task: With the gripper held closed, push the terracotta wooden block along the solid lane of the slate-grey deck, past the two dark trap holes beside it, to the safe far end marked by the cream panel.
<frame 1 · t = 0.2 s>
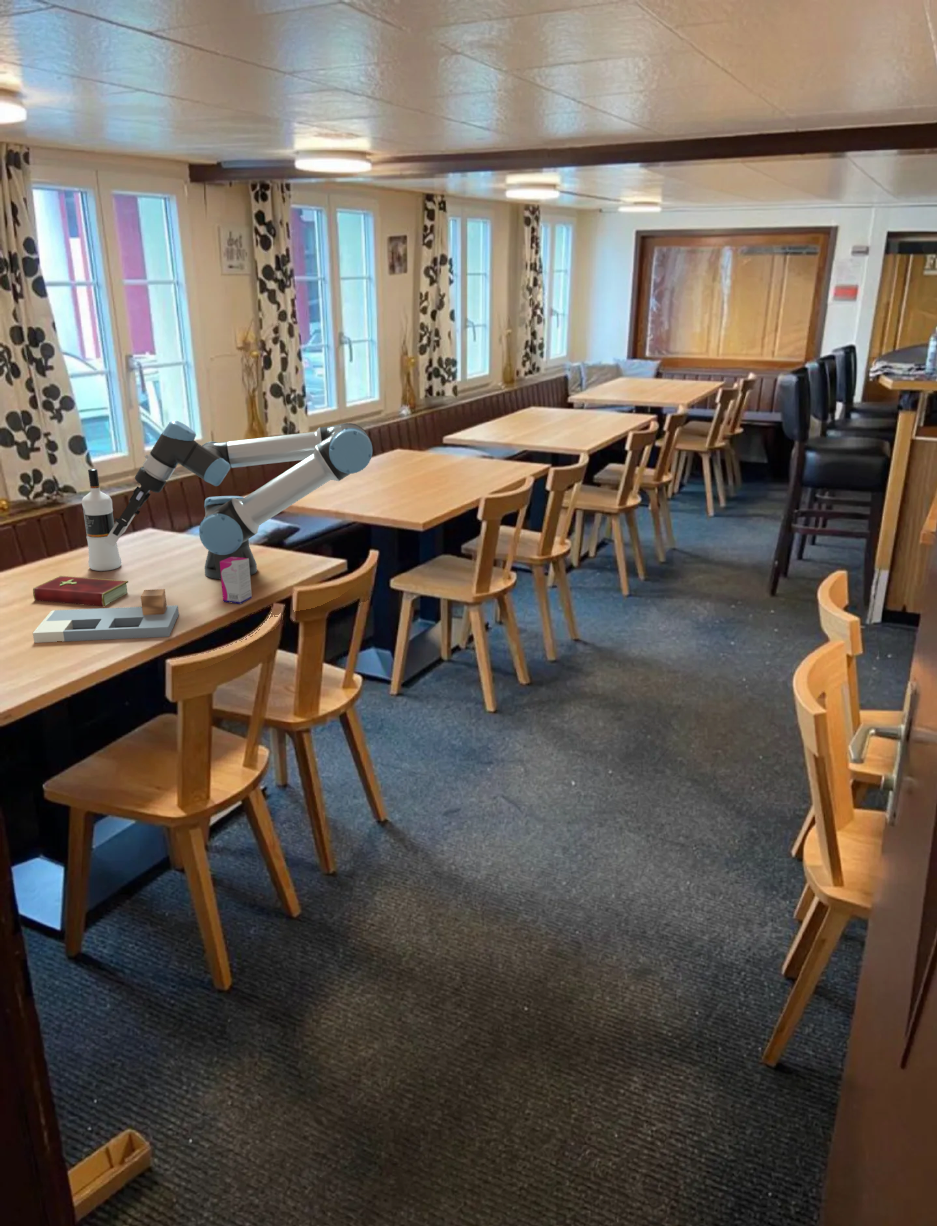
hand: (114, 537, 240), 15 cm above the table, tool tilted 35°, fingers open, 13 cm apart
hardcover book: (83, 599, 240), on the table
block: (155, 611, 222), point 2 cm above the table, touching deck
deck: (111, 627, 217), on the table
vodka: (105, 568, 265), on the table
supplement box: (237, 600, 238), on the table
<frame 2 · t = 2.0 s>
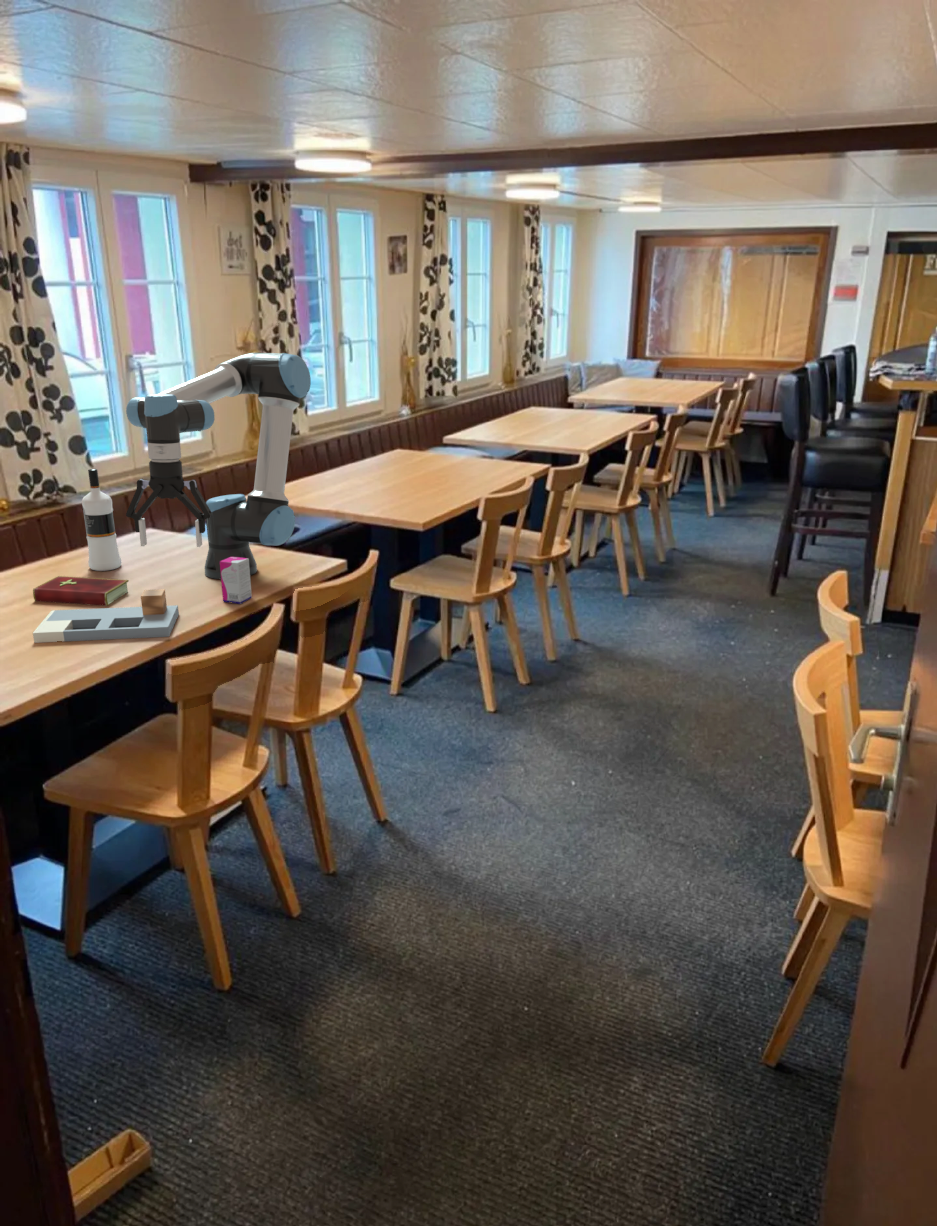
hand: (171, 545, 218), 19 cm above the table, tool pointing down, fingers open, 13 cm apart
nothing on the table moved.
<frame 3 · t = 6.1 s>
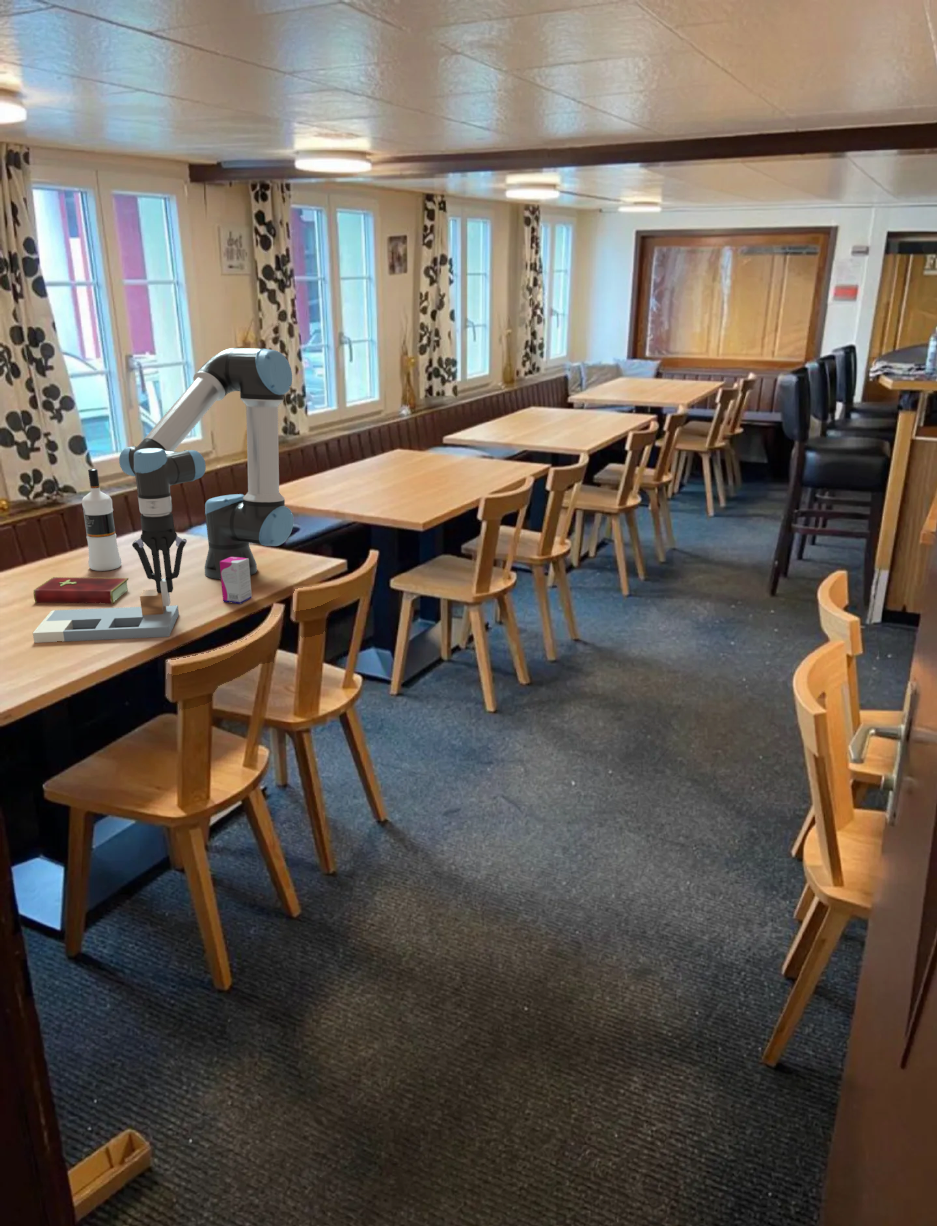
hand: (166, 604, 221), 4 cm above the table, tool pointing down, fingers closed
block: (154, 611, 222), point 3 cm above the table, touching gripper
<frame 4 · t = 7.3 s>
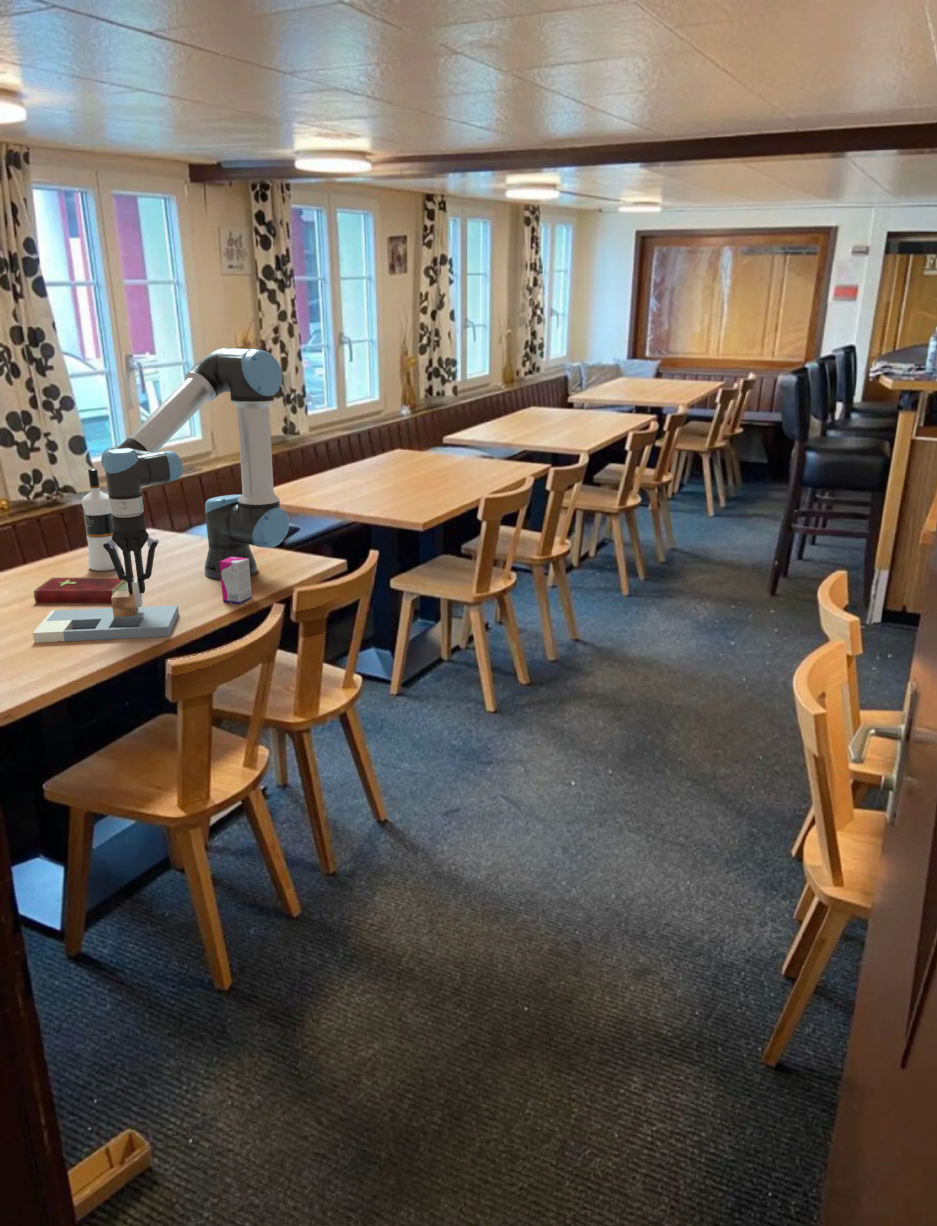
hand: (138, 605, 220), 4 cm above the table, tool pointing down, fingers closed
block: (126, 612, 220), point 3 cm above the table, touching gripper
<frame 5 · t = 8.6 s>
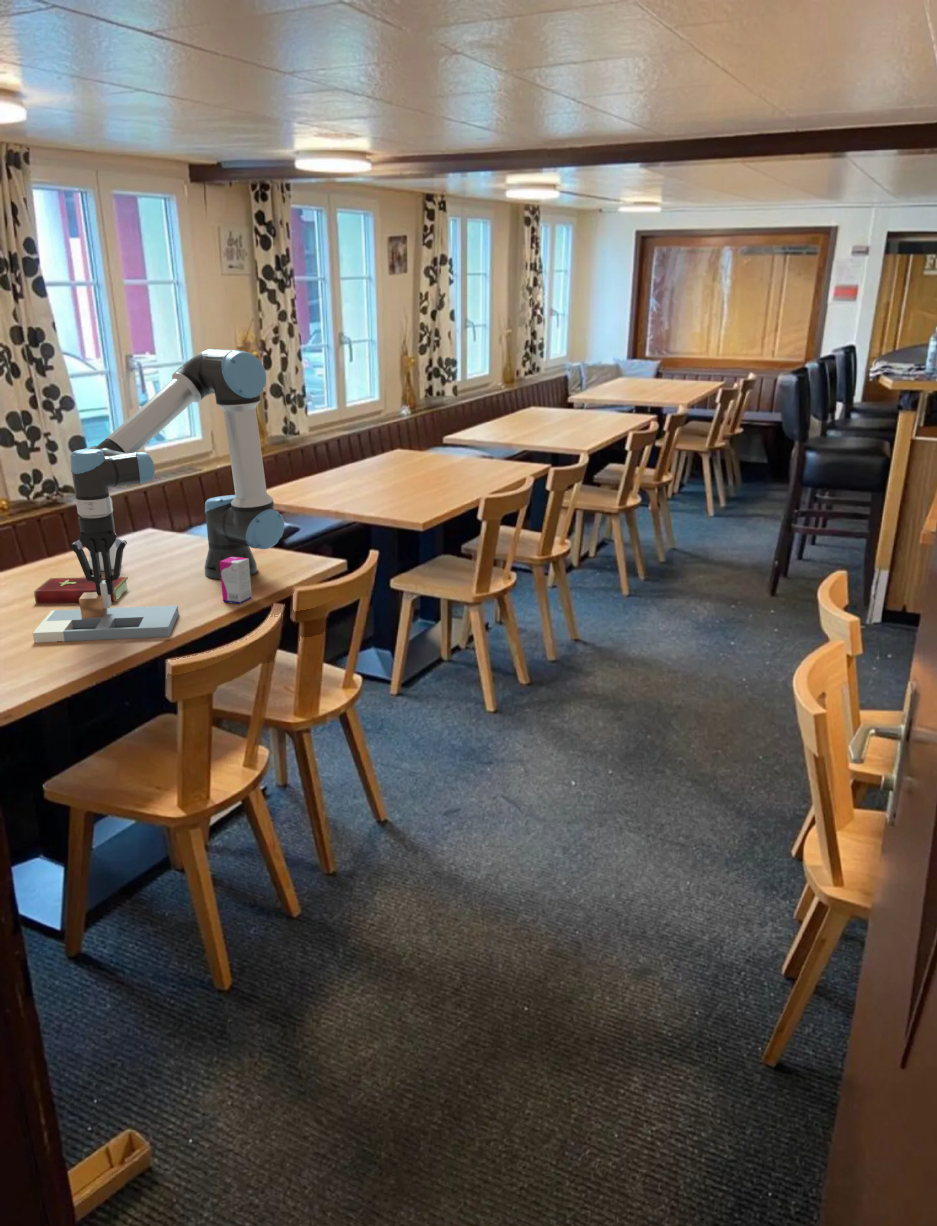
hand: (107, 606, 219), 4 cm above the table, tool pointing down, fingers closed
block: (94, 614, 219), point 3 cm above the table, touching gripper
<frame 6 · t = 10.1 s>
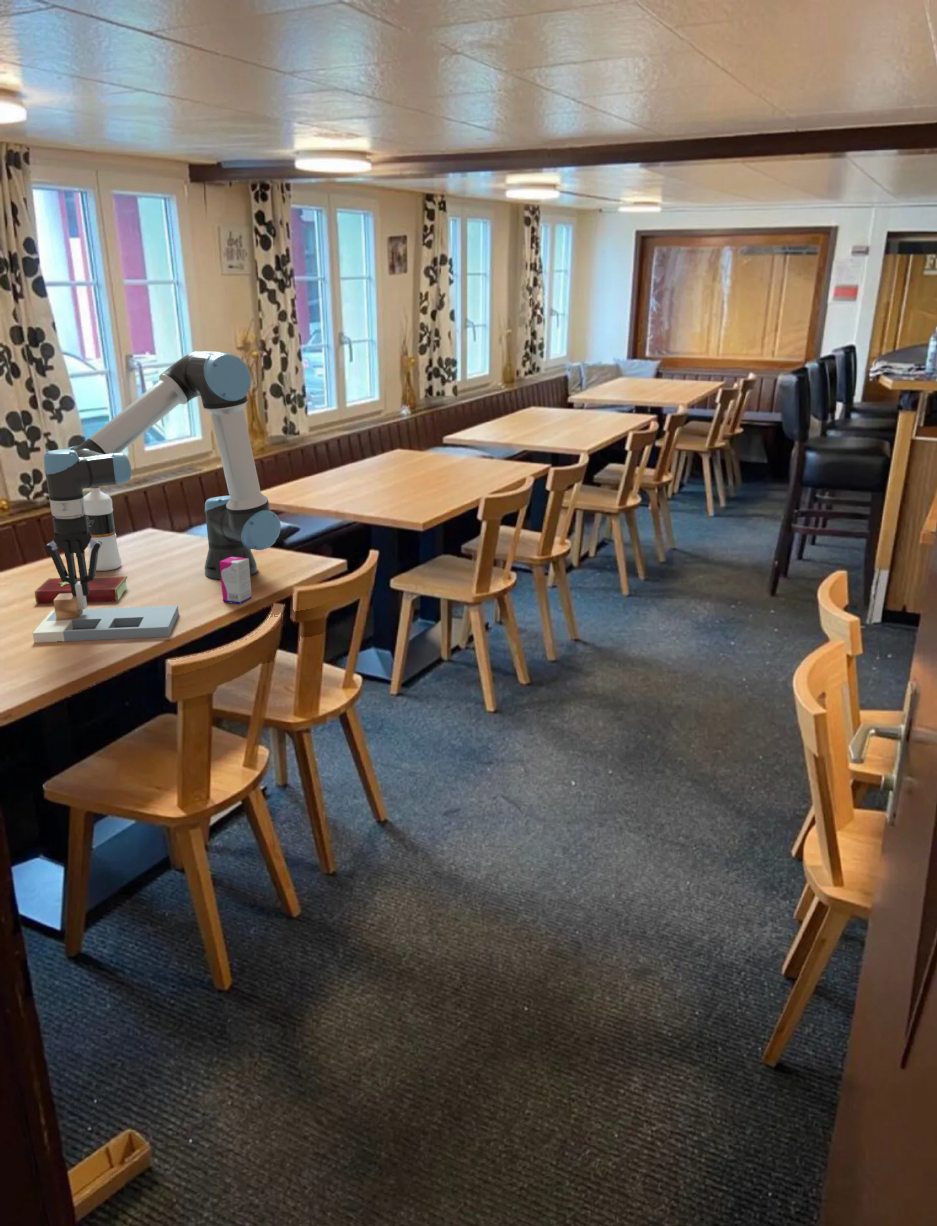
hand: (82, 607, 218), 4 cm above the table, tool pointing down, fingers closed
block: (69, 615, 218), point 3 cm above the table, touching gripper
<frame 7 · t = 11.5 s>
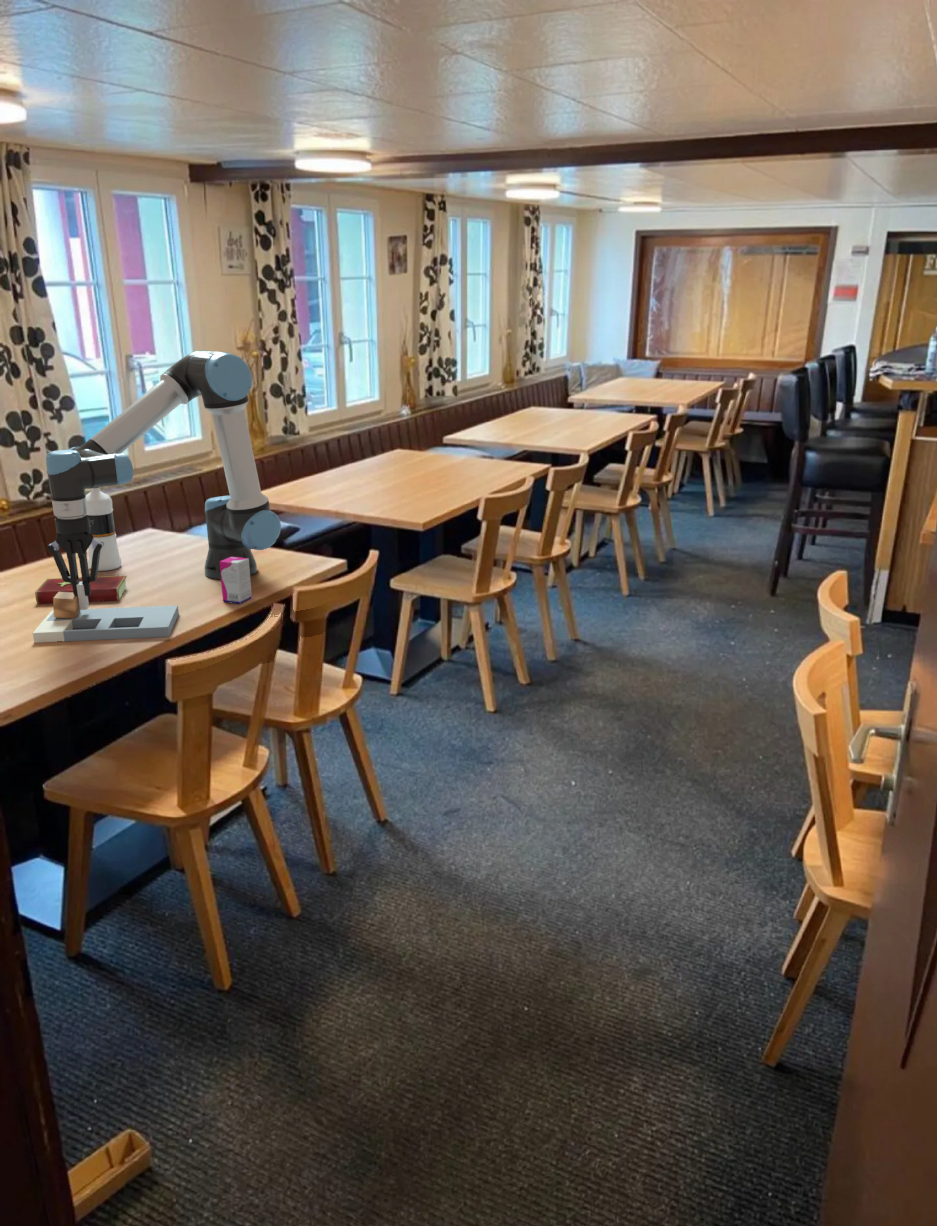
hand: (84, 607, 218), 4 cm above the table, tool pointing down, fingers closed
block: (67, 614, 218), point 3 cm above the table, tilted 7°, touching deck, gripper
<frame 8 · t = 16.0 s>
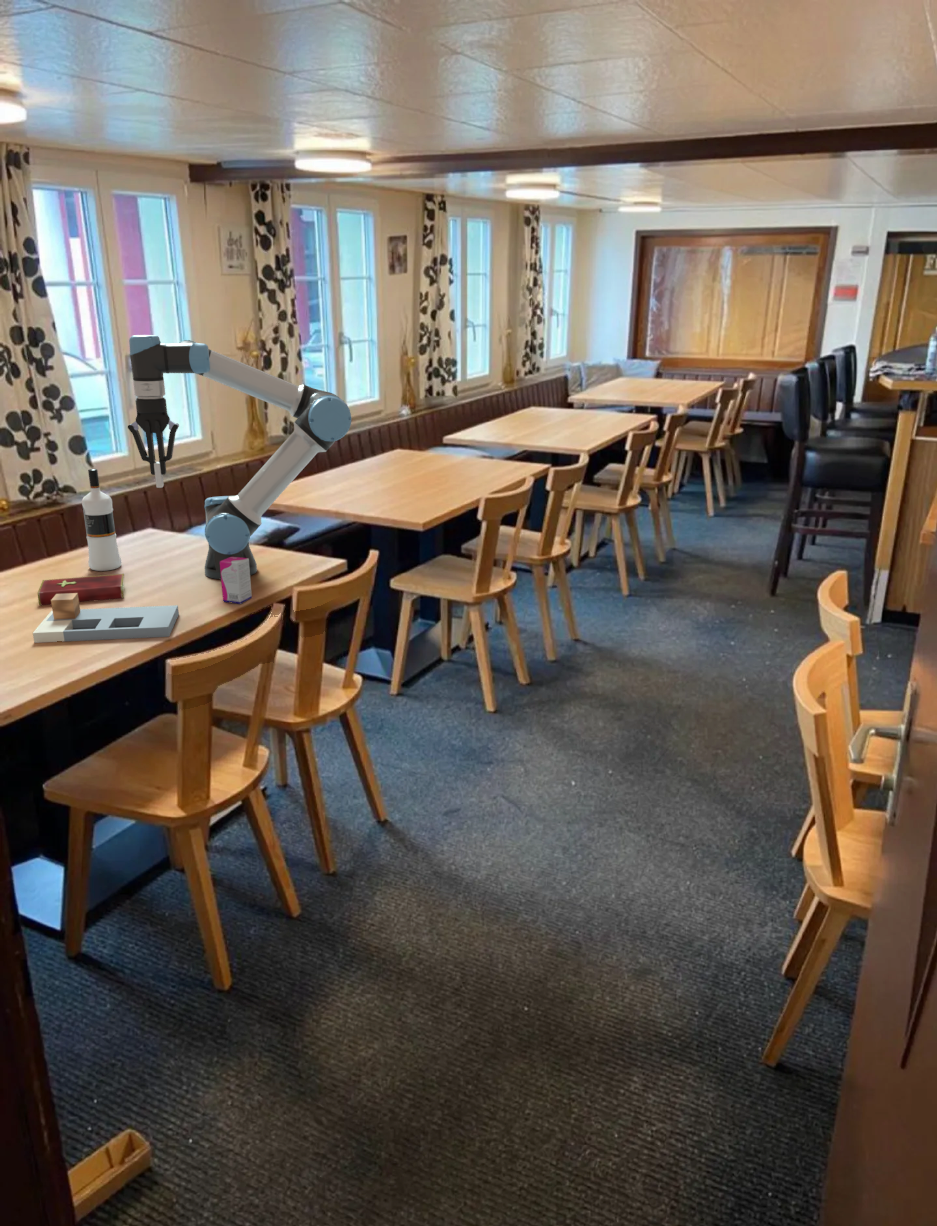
hand: (160, 486, 236), 29 cm above the table, tool pointing down, fingers closed
block: (67, 615, 218), point 2 cm above the table, touching deck
at the end: block inside the target area (1.7 cm from its centre), point 2.5 cm above the table; block tilted 0° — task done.
